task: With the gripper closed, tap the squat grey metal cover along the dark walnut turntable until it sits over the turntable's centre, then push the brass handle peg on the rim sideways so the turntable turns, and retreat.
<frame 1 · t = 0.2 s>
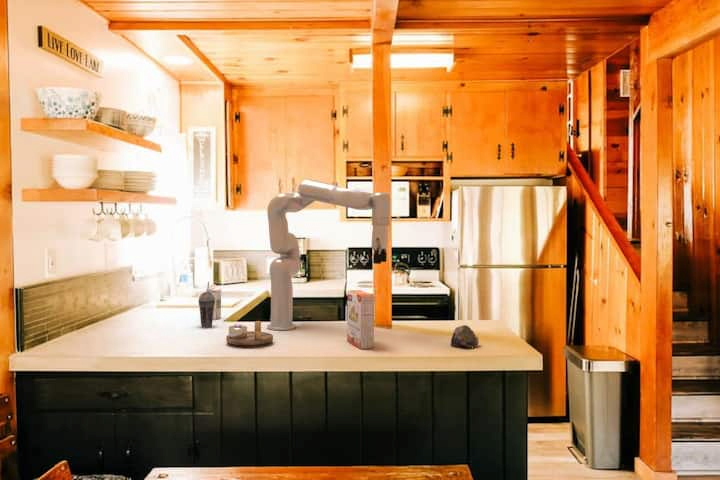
hand: (379, 262, 245), 31 cm above the table, tool pointing down, fingers open, 9 cm apart
beverage cup: (206, 327, 259), on the table
cover: (237, 337, 226), point 3 cm above the table, touching turntable
syrup box: (213, 319, 278), on the table
turntable base: (249, 343, 229), on the table
cracker box: (359, 345, 229), on the table
turntable: (249, 329, 229), point 6 cm above the table, hinge at 0.0°, touching cover
dark rock: (464, 347, 230), on the table
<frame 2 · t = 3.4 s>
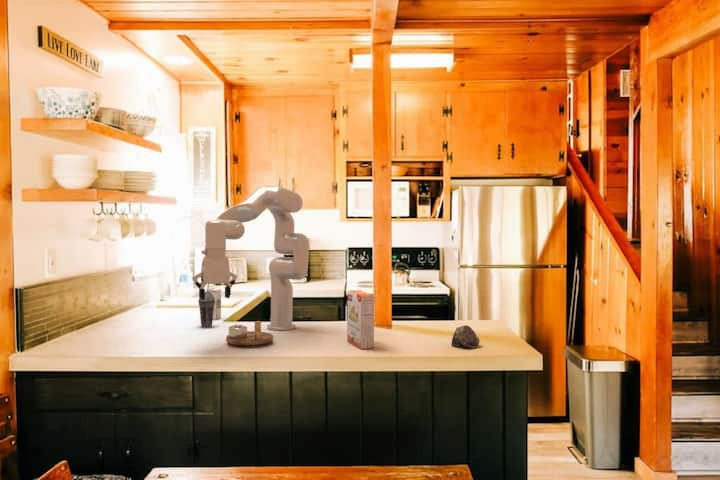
hand: (214, 298, 220), 19 cm above the table, tool pointing down, fingers open, 9 cm apart
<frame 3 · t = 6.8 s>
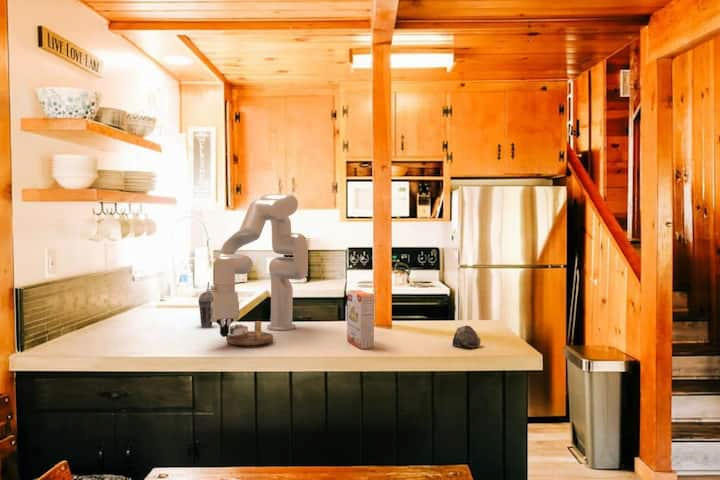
hand: (224, 336, 223), 4 cm above the table, tool pointing down, fingers closed
cover: (238, 337, 226), point 3 cm above the table, touching gripper
turntable: (249, 329, 229), point 6 cm above the table, hinge at 0.0°
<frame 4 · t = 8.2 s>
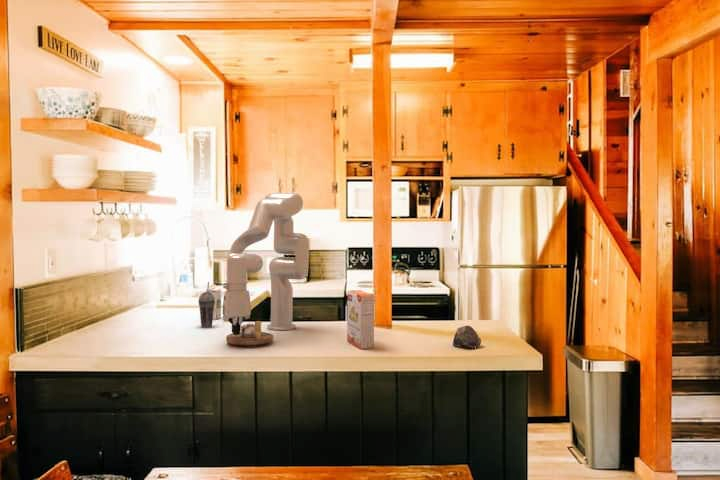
hand: (236, 334, 225), 4 cm above the table, tool pointing down, fingers closed
cover: (250, 336, 228), point 3 cm above the table, touching turntable
turntable: (249, 329, 229), point 6 cm above the table, hinge at 0.0°, touching cover
everything else where it was.
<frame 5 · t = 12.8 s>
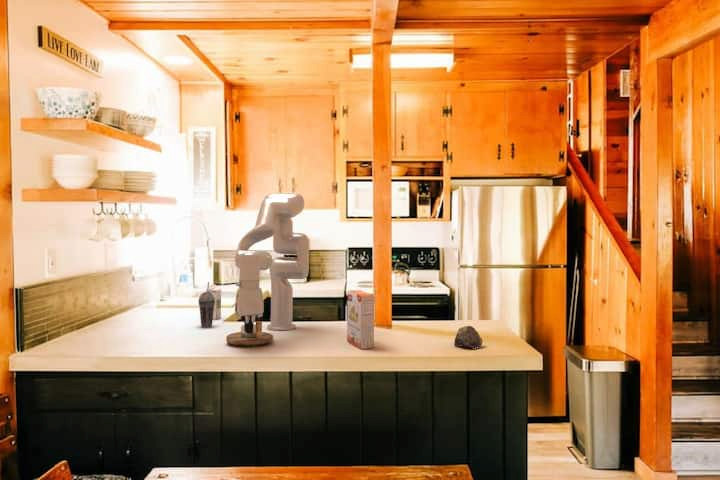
hand: (248, 332, 221), 6 cm above the table, tool pointing down, fingers closed
turntable: (249, 329, 229), point 6 cm above the table, hinge at 3.1°, touching cover, gripper
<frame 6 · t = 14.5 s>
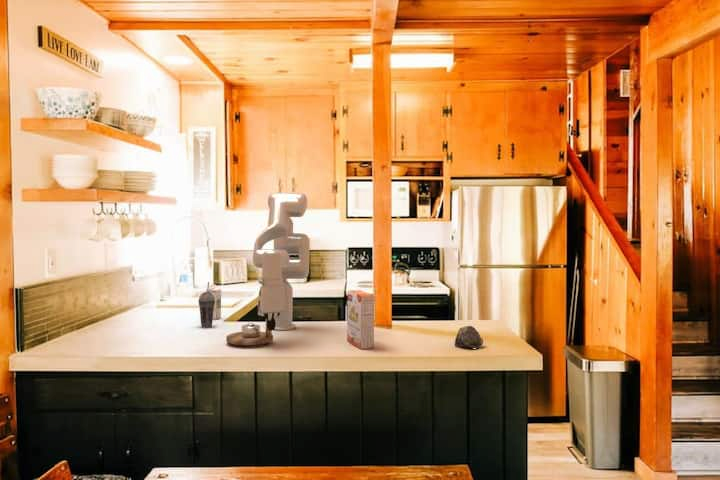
hand: (271, 329, 225), 6 cm above the table, tool pointing down, fingers closed
turntable: (249, 329, 229), point 6 cm above the table, hinge at 51.4°, touching cover, gripper
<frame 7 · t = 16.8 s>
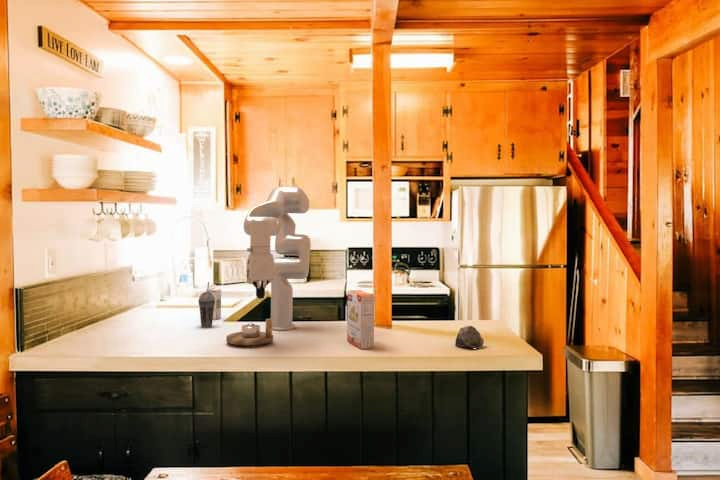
hand: (260, 297, 223), 19 cm above the table, tool pointing down, fingers closed
turntable: (249, 329, 229), point 6 cm above the table, hinge at 52.0°, touching cover
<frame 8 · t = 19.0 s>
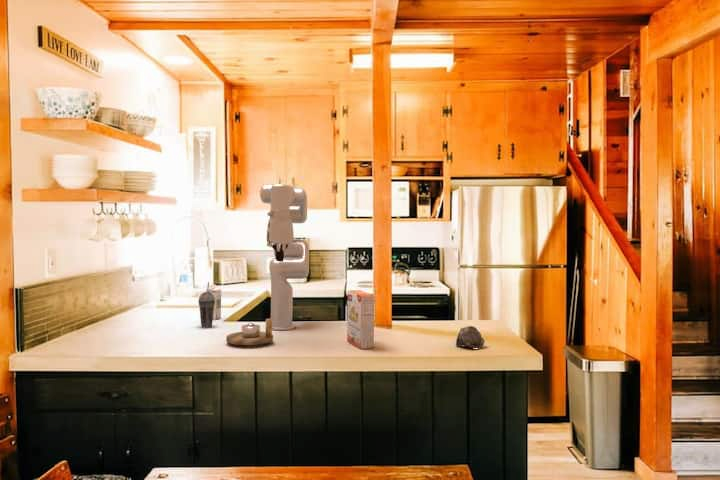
hand: (279, 261, 233), 32 cm above the table, tool pointing down, fingers closed
at the end: cover 0.4 cm from the turntable (horizontally); turntable at +52° (first picture: +0°); cover tilted 0° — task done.
